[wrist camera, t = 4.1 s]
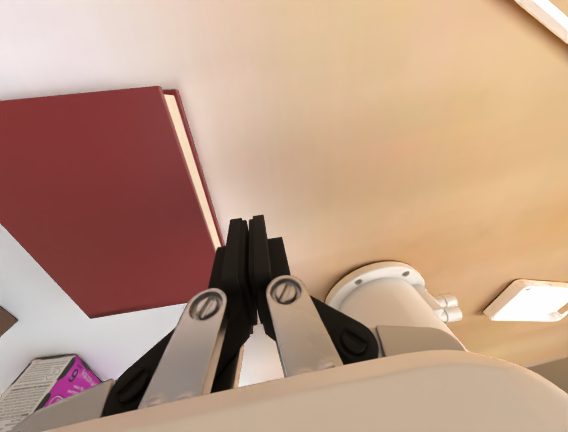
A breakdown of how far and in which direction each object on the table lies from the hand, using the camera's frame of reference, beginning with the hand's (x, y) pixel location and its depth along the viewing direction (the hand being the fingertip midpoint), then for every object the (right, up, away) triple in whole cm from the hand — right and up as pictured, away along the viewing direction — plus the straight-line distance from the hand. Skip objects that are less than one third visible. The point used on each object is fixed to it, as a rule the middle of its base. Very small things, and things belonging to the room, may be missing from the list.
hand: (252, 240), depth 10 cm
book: (-10, +2, +6) cm, 12 cm away
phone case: (+40, -11, +21) cm, 46 cm away
